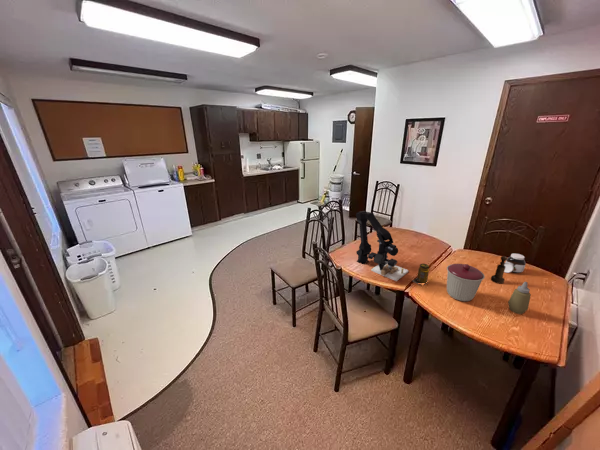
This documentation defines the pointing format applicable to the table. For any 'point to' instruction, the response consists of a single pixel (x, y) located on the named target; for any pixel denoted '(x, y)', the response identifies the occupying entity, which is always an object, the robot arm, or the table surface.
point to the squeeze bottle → (520, 299)
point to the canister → (463, 281)
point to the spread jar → (515, 263)
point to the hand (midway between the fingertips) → (381, 270)
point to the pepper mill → (499, 272)
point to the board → (394, 276)
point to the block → (388, 270)
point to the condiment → (422, 274)
